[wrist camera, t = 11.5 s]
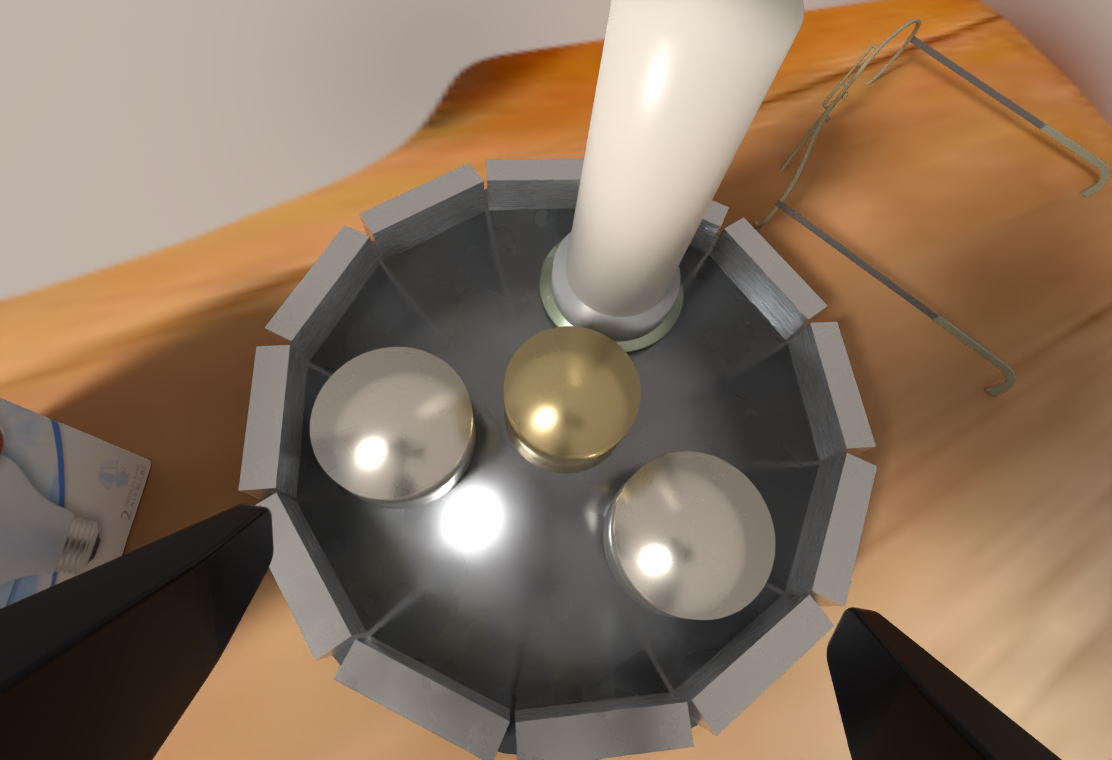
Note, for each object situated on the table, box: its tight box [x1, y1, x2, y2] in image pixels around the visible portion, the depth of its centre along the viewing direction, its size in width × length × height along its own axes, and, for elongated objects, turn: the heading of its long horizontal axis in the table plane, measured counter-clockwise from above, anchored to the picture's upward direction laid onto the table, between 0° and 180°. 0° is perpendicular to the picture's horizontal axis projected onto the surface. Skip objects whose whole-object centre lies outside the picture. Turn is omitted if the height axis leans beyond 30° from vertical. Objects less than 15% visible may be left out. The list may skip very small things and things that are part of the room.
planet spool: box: [551, 0, 804, 342], centre depth 19 cm, size 6×6×13 cm
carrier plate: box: [238, 159, 877, 760], centre depth 22 cm, size 24×24×4 cm
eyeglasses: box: [755, 19, 1110, 396], centre depth 28 cm, size 16×15×5 cm
